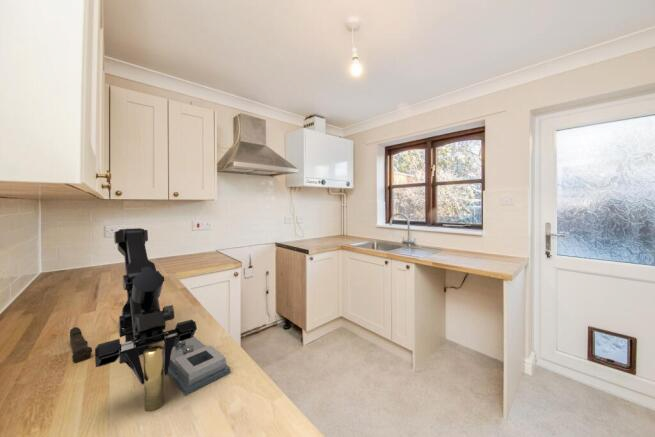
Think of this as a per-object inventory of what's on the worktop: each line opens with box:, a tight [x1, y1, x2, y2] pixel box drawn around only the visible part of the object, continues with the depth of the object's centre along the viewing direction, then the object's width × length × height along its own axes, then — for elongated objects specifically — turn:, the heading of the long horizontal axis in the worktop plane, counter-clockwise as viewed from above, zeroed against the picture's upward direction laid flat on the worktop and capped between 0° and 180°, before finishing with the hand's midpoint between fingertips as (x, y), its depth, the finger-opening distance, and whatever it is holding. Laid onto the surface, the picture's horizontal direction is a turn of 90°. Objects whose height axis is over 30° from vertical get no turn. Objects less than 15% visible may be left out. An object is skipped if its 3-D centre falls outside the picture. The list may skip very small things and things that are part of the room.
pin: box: [142, 345, 165, 413], centre depth 55 cm, size 4×4×12 cm
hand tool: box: [69, 326, 93, 364], centre depth 77 cm, size 19×4×5 cm, turn 48°
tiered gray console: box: [161, 336, 231, 397], centre depth 70 cm, size 22×11×4 cm, turn 49°
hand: (154, 379), depth 54 cm, fingers open, 4 cm apart
